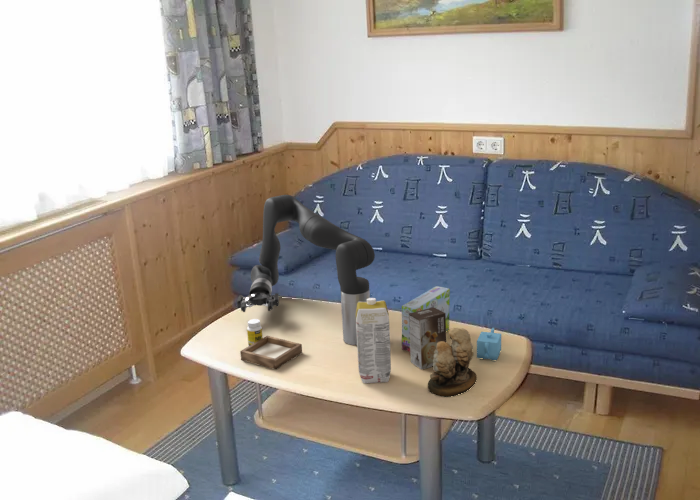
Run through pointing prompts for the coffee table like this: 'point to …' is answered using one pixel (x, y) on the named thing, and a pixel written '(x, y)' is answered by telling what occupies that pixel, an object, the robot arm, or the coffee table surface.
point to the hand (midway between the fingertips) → (256, 309)
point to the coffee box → (426, 335)
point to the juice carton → (373, 341)
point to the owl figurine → (452, 365)
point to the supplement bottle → (254, 331)
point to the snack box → (429, 299)
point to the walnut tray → (271, 352)
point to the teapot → (489, 345)
